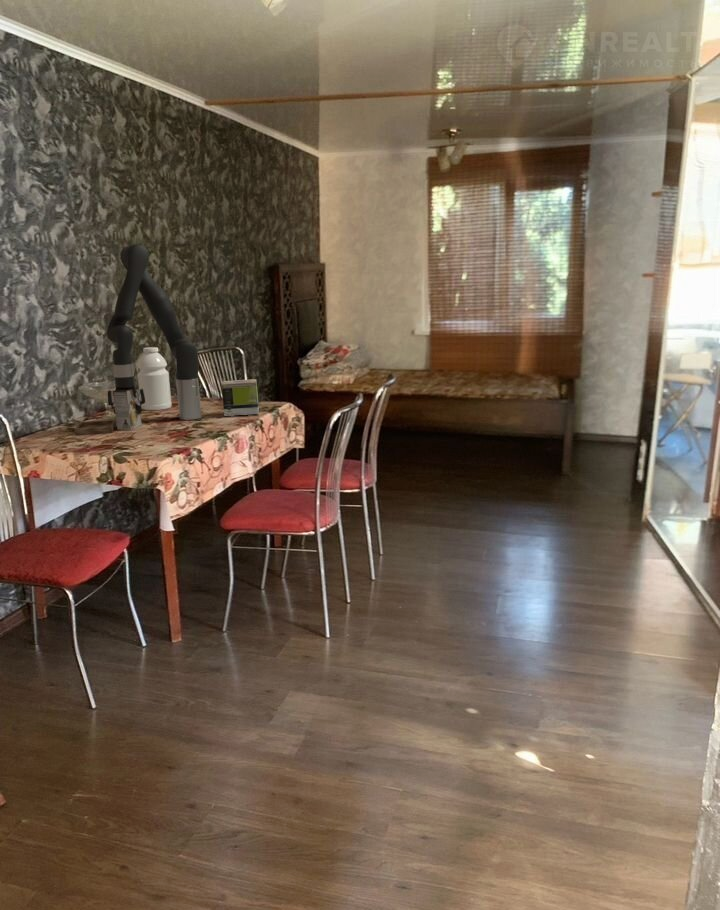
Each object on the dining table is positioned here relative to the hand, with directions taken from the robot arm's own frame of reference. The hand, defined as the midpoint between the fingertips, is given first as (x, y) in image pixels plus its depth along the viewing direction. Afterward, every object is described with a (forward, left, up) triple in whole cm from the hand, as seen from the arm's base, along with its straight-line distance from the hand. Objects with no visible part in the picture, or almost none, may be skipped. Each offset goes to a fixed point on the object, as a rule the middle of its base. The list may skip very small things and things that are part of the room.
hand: (128, 414), depth 282 cm
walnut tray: (+13, +1, -5) cm, 14 cm away
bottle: (-8, -42, -6) cm, 43 cm away
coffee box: (0, 0, -6) cm, 6 cm away
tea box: (-46, -13, -6) cm, 48 cm away
